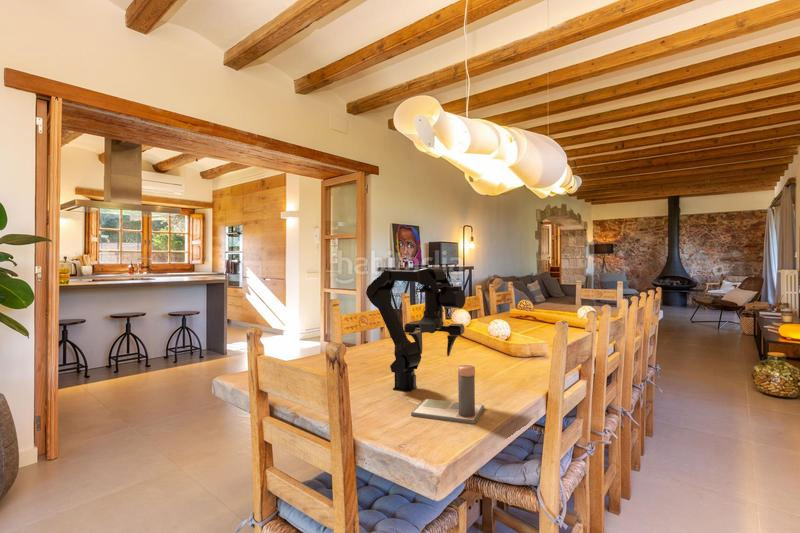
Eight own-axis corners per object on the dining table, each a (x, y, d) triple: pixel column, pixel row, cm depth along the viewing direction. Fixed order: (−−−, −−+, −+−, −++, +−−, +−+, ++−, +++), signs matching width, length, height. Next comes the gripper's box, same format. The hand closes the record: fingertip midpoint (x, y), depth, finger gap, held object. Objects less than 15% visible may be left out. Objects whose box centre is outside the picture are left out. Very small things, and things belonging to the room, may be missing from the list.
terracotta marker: (459, 417, 111) (458, 369, 111) (457, 411, 116) (457, 365, 116) (476, 417, 111) (476, 369, 111) (473, 411, 116) (473, 364, 116)
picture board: (411, 415, 116) (411, 412, 116) (425, 401, 128) (425, 397, 128) (475, 424, 109) (475, 420, 109) (484, 407, 121) (484, 404, 121)
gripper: (397, 308, 129) (398, 358, 129) (456, 310, 122) (456, 362, 122) (409, 305, 140) (410, 351, 140) (464, 306, 133) (465, 355, 133)
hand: (434, 355), depth 133 cm, fingers open, 9 cm apart
